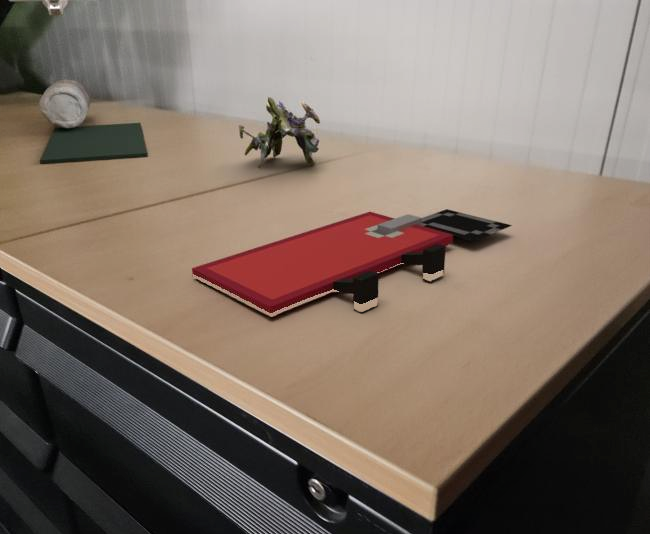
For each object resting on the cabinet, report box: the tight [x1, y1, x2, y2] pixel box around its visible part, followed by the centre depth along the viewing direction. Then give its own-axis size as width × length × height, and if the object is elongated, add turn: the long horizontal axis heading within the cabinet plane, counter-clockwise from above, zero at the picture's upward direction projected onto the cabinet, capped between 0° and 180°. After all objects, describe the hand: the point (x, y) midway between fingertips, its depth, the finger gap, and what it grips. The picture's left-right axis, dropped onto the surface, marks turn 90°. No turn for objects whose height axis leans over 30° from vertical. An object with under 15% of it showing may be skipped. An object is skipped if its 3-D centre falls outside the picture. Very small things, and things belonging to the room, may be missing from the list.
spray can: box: [38, 78, 91, 128], centre depth 121 cm, size 8×8×20 cm
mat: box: [39, 122, 149, 165], centre depth 109 cm, size 16×29×1 cm, turn 17°
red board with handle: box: [191, 208, 513, 313], centre depth 58 cm, size 30×3×15 cm
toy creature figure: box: [238, 96, 321, 169], centre depth 91 cm, size 11×11×12 cm
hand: (55, 12), depth 133 cm, fingers closed
